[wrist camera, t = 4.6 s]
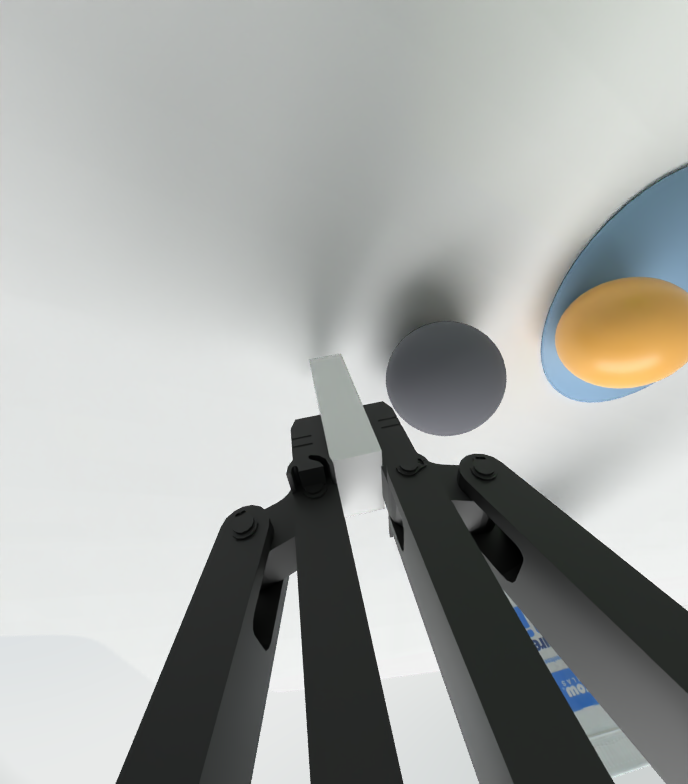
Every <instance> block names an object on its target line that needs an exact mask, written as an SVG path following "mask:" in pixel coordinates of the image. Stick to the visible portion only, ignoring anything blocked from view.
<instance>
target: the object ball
mask: <svg viewBox="0 0 688 784" xmlns="http://www.w3.org/2000/svg"><path fill="white" fill-rule="evenodd" d="M555 346H556V351H557V354H558V356H559V359H560V360H561V362H562V363H563V365H564V366H565V367H566V368H567V369H568V370H569V371H570V372H571V373H572V374H573V375H575V376H576V377H578V378H580V379H581V380H583V381H585V382H588V383H590V384H593V385H597V386H601V387H606V388H634V387H639V386H644V385H648V384H651V383H654V382H657V381H659V380H661V379H663V378H666V377H667V376H669V375H671V374H673V373H674V372H676V371H677V370H678V369H680V368H681V367H682V366H683V365H685V364H686V363H687V362H688V293H687V292H686V291H685V290H683V289H682V288H680V287H678V286H677V285H675V284H673V283H670V282H667V281H665V280H661V279H656V278H651V277H627V278H621V279H615V280H612V281H608V282H605V283H602V284H600V285H598V286H596V287H594V288H592V289H590V290H588V291H586V292H585V293H583V294H582V295H580V296H579V297H578V298H577V299H576V300H574V301H573V302H572V303H571V304H570V305H569V306H568V308H567V309H566V310H565V312H564V313H563V315H562V316H561V318H560V320H559V323H558V325H557V328H556V333H555Z"/></svg>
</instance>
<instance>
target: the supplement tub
mask: <svg viewBox="0 0 688 784" xmlns="http://www.w3.org/2000/svg"><path fill="white" fill-rule="evenodd" d="M503 591H504V590H503ZM504 592H505V591H504ZM505 594H506V596H507V598H508V599H509V601H510V603H511V605H512V606H513V608H514V610H515V612H516V613H517V615H518V617H519V618H520V620H521V622H522V624H523V625H524V627H525V629H526V631H527V632H528V634H529V636H530V638H531V639H532V641H533V643H534V645H535V646H536V648H537V650H538V651H539V653H540V655H541V657H542V658H543V660H544V662H545V664H546V665H547V667H548V669H549V671H550V672H551V674H552V676H553V677H554V679H555V681H556V683H557V684H558V686H559V688H560V690H561V691H562V693H563V695H564V697H565V698H566V700H567V702H568V703H569V705H570V707H571V709H572V710H573V712H574V714H575V716H576V717H577V719H578V721H579V723H580V724H581V726H582V728H583V729H584V731H585V733H586V735H587V736H588V738H589V740H590V742H591V743H592V745H593V747H594V749H595V750H596V752H597V754H598V756H599V757H600V759H601V761H602V762H603V764H604V766H605V768H606V769H607V771H608V773H609V775H610V776H611V778H613V777H617V776H620V775H622V774H626V773H629V772H632V771H635V770H638V769H641V768H644V767H646V766H650V764H649V763H648V761H647V760H646V759H645V758H644V757H643V755H642V754H641V753H640V752H639V751H638V750H637V748H636V747H635V746H634V745H633V744H632V742H631V741H630V740H629V739H628V738H627V736H626V735H625V734H624V733H623V732H622V730H621V729H620V728H619V727H618V726H617V724H616V723H615V722H614V721H613V720H612V719H611V717H610V716H609V715H608V714H607V713H606V711H605V710H604V709H603V708H602V707H601V705H600V704H599V703H598V702H597V701H596V699H595V698H594V697H593V696H592V695H591V694H590V692H589V691H588V690H587V689H586V688H585V686H584V685H583V684H582V683H581V682H580V680H579V679H578V678H577V677H576V676H575V674H574V673H573V672H572V671H571V670H570V668H569V667H568V666H567V665H566V664H565V663H564V661H563V660H562V659H561V658H560V657H559V655H558V654H557V653H556V652H555V651H554V649H553V648H552V647H551V646H550V645H549V643H548V642H547V641H546V640H545V639H544V638H543V636H542V635H541V634H540V633H539V632H538V630H537V629H536V628H535V627H534V626H533V624H532V623H531V622H530V621H529V620H528V618H527V617H526V616H525V615H524V614H523V612H522V611H521V610H520V609H519V608H518V607H517V605H516V604H515V603H514V602H513V601H512V599H511V598H510V597H509V596H508V595H507V593H506V592H505Z"/></svg>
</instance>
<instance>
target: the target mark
mask: <svg viewBox="0 0 688 784" xmlns="http://www.w3.org/2000/svg"><path fill="white" fill-rule="evenodd" d="M627 277H651V278H656V279H661V280H665V281H667V282H670V283H673V284H675V285H677V286H678V287H680V288H682V289H683V290H685V291H686V292H687V293H688V167H685V168H683V169H681V170H679V171H677V172H675V173H673V174H671V175H669V176H667V177H665V178H663V179H662V180H660V181H659V182H657V183H656V184H654V185H653V186H651V187H649V188H648V189H646V190H645V191H643V192H642V193H641V194H640V195H638V196H637V197H636V198H635V199H633V200H632V201H631V202H629V203H628V204H627V205H626V206H625V207H624V208H622V209H621V210H620V211H619V212H618V213H617V214H616V215H615V216H614V217H613V218H612V219H611V220H610V221H609V222H608V223H607V224H606V225H605V226H604V227H603V228H602V229H601V230H600V231H599V232H598V233H597V235H596V236H595V237H594V238H593V239H592V240H591V242H590V243H589V244H588V245H587V247H586V248H585V249H584V250H583V252H582V253H581V254H580V256H579V257H578V258H577V260H576V261H575V263H574V264H573V266H572V267H571V269H570V270H569V272H568V273H567V275H566V277H565V279H564V281H563V282H562V284H561V286H560V288H559V290H558V292H557V294H556V296H555V298H554V301H553V303H552V305H551V307H550V310H549V313H548V316H547V319H546V322H545V327H544V331H543V336H542V346H541V357H542V365H543V369H544V373H545V375H546V377H547V379H548V381H549V382H550V384H551V385H552V386H553V388H554V389H556V390H557V391H558V392H559V393H561V394H562V395H564V396H566V397H568V398H570V399H572V400H576V401H580V402H603V401H609V400H614V399H617V398H621V397H624V396H627V395H629V394H632V393H635V392H637V391H639V390H641V389H643V388H646V387H648V386H649V385H651V384H653V383H651V384H648V385H644V386H639V387H634V388H606V387H601V386H597V385H593V384H590V383H588V382H585V381H583V380H581V379H580V378H578V377H576V376H575V375H573V374H572V373H571V372H570V371H569V370H568V369H567V368H566V367H565V366H564V365H563V363H562V362H561V360H560V359H559V356H558V354H557V351H556V346H555V333H556V328H557V325H558V323H559V320H560V318H561V316H562V315H563V313H564V312H565V310H566V309H567V308H568V306H569V305H570V304H571V303H572V302H573V301H574V300H576V299H577V298H578V297H579V296H580V295H582V294H583V293H585V292H586V291H588V290H590V289H592V288H594V287H596V286H598V285H600V284H602V283H605V282H608V281H612V280H615V279H621V278H627ZM654 383H655V382H654Z"/></svg>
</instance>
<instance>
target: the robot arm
mask: <svg viewBox="0 0 688 784" xmlns="http://www.w3.org/2000/svg"><path fill="white" fill-rule="evenodd" d="M309 361H310V366H311V371H312V377H313V382H314V387H315V393H316V398H317V403H318V408H319V413H320V415H317V416H312V417H307V418H302V419H297V420H295V422H294V424H293V426H292V428H291V439H292V455H293V461H292V462H291V463H290V465H289V466H288V469H287V474H286V475H287V478H288V481H289V484H290V488H291V490H290V492H289V493H288V495H287V496H286V497H285V498H283V499H282V500H281V501H279V502H278V503H276V504H274V505H272V506H270V507H268V508H266V509H263V508H262V507H260V506H255V505H250V506H245V507H242V508H240V509H238V510H236V511H234V512H233V513H232V514H231V515H230V516H228V517H227V518H226V520H225V521H224V523H223V525H222V526H221V528H220V531H219V533H218V536H217V538H216V540H215V543H214V545H213V548H212V550H211V553H210V555H209V558H208V560H207V562H206V565H205V567H204V570H203V572H202V575H201V577H200V579H199V582H198V584H197V587H196V589H195V592H194V594H193V597H192V599H191V601H190V604H189V606H188V609H187V611H186V614H185V616H184V618H183V621H182V623H181V626H180V628H179V631H178V633H177V636H176V638H175V640H174V643H173V645H172V648H171V650H170V653H169V655H168V657H167V660H166V662H165V665H164V667H163V670H162V672H161V675H160V677H159V679H158V682H157V684H156V687H155V689H154V692H153V694H152V696H151V699H150V701H149V704H148V707H147V709H146V711H145V713H144V716H143V719H142V721H141V723H140V726H139V729H138V731H137V733H136V736H135V738H134V740H133V743H132V745H131V748H130V750H129V752H128V755H127V757H126V760H125V762H124V765H123V767H122V770H121V772H120V774H119V777H118V779H117V782H116V784H251V780H252V774H253V769H254V763H255V758H256V753H257V747H258V741H259V736H260V731H261V726H262V720H263V715H264V709H265V704H266V698H267V692H268V688H269V682H270V677H271V671H272V666H273V661H274V655H275V650H276V644H277V639H278V634H279V628H280V623H281V617H282V612H283V607H284V601H285V596H286V590H287V585H288V580H289V575H291V574H292V573H294V572H295V571H297V575H298V591H299V607H300V623H301V639H302V655H303V670H304V686H305V702H306V718H307V733H308V748H309V764H310V781H311V784H403V780H402V775H401V771H400V766H399V762H398V757H397V753H396V748H395V743H394V739H393V735H392V730H391V725H390V721H389V716H388V712H387V707H386V703H385V698H384V694H383V689H382V685H381V680H380V676H379V671H378V666H377V662H376V657H375V653H374V648H373V644H372V639H371V635H370V630H369V626H368V621H367V617H366V612H365V608H364V603H363V599H362V594H361V590H360V585H359V580H358V576H357V571H356V567H355V562H354V558H353V553H352V549H351V544H350V540H349V535H348V531H347V526H346V522H345V518H347V517H351V516H356V515H360V514H364V513H368V512H373V511H377V510H381V509H385V507H384V501H385V504H386V507H387V510H388V514H389V534H390V537H393V536H394V539H395V541H396V544H397V547H398V550H399V553H400V556H401V559H402V562H403V565H404V567H405V570H406V573H407V576H408V579H409V582H410V585H411V588H412V591H413V593H414V596H415V599H416V602H417V605H418V608H419V611H420V614H421V617H422V619H423V622H424V625H425V628H426V631H427V634H428V637H429V640H430V642H431V645H432V648H433V651H434V654H435V657H436V660H437V663H438V666H439V668H440V671H441V674H442V677H443V680H444V683H445V686H446V689H447V692H448V694H449V697H450V700H451V703H452V706H453V709H454V712H455V714H456V717H457V720H458V723H459V726H460V729H461V732H462V735H463V738H464V741H465V743H466V746H467V749H468V752H469V755H470V758H471V761H472V764H473V767H474V769H475V772H476V775H477V778H478V781H479V784H615V783H614V782H613V780H612V778H611V776H610V775H609V773H608V771H607V769H606V768H605V766H604V764H603V762H602V761H601V759H600V757H599V756H598V754H597V752H596V750H595V749H594V747H593V745H592V743H591V742H590V740H589V738H588V736H587V735H586V733H585V731H584V729H583V728H582V726H581V724H580V723H579V721H578V719H577V717H576V716H575V714H574V712H573V710H572V709H571V707H570V705H569V703H568V702H567V700H566V698H565V697H564V695H563V693H562V691H561V690H560V688H559V686H558V684H557V683H556V681H555V679H554V677H553V676H552V674H551V672H550V671H549V669H548V667H547V665H546V664H545V662H544V660H543V658H542V657H541V655H540V653H539V651H538V650H537V648H536V646H535V645H534V643H533V641H532V639H531V638H530V636H529V634H528V632H527V631H526V629H525V627H524V625H523V624H522V622H521V620H520V618H519V617H518V615H517V613H516V612H515V610H514V608H513V606H512V605H511V603H510V601H509V599H508V598H507V596H506V594H505V592H506V593H507V595H508V596H509V597H510V598H511V599H512V601H513V602H514V603H515V604H516V605H517V607H518V608H519V609H520V610H521V611H522V612H523V614H524V615H525V616H526V617H527V618H528V620H529V621H530V622H531V623H532V624H533V626H534V627H535V628H536V629H537V630H538V632H539V633H540V634H541V635H542V636H543V638H544V639H545V640H546V641H547V642H548V643H549V645H550V646H551V647H552V648H553V649H554V651H555V652H556V653H557V654H558V655H559V657H560V658H561V659H562V660H563V661H564V663H565V664H566V665H567V666H568V667H569V668H570V670H571V671H572V672H573V673H574V674H575V676H576V677H577V678H578V679H579V680H580V682H581V683H582V684H583V685H584V686H585V688H586V689H587V690H588V691H589V692H590V694H591V695H592V696H593V697H594V698H595V699H596V701H597V702H598V703H599V704H600V705H601V707H602V708H603V709H604V710H605V711H606V713H607V714H608V715H609V716H610V717H611V719H612V720H613V721H614V722H615V723H616V724H617V726H618V727H619V728H620V729H621V730H622V732H623V733H624V734H625V735H626V736H627V738H628V739H629V740H630V741H631V742H632V744H633V745H634V746H635V747H636V748H637V750H638V751H639V752H640V753H641V754H642V755H643V757H644V758H645V759H646V760H647V761H648V763H649V764H650V765H651V766H652V767H653V768H654V770H655V771H656V772H657V773H658V775H659V776H660V777H661V778H662V779H663V780H664V782H665V783H666V784H688V611H687V610H686V609H684V608H683V607H682V606H681V605H679V604H678V603H677V602H676V601H674V600H673V599H672V598H671V597H669V596H668V595H667V594H666V593H664V592H663V591H662V590H661V589H659V588H658V587H657V586H656V585H654V584H653V583H652V582H651V581H649V580H648V579H647V578H646V577H644V576H643V575H642V574H641V573H639V572H638V571H637V570H636V569H634V568H633V567H632V566H631V565H629V564H628V563H627V562H626V561H624V560H623V559H622V558H621V557H619V556H618V555H617V554H616V553H614V552H613V551H612V550H611V549H609V548H608V547H607V546H606V545H604V544H603V543H602V542H601V541H599V540H598V539H597V538H596V537H594V536H593V535H592V534H591V533H589V532H588V531H587V530H586V529H584V528H583V527H582V526H581V525H579V524H578V523H577V522H576V521H574V520H573V519H572V518H571V517H569V516H568V515H567V514H566V513H564V512H563V511H562V510H561V509H559V508H558V507H557V506H556V505H554V504H553V503H552V502H550V501H549V500H548V499H547V498H545V497H544V496H543V495H542V494H540V493H539V492H538V491H537V490H535V489H534V488H533V487H532V486H530V485H529V484H528V483H527V482H525V481H524V480H523V479H522V478H520V477H519V476H518V475H517V474H515V473H514V472H513V471H512V470H510V469H509V468H508V467H507V466H505V465H504V464H503V463H502V462H500V461H499V460H497V459H495V458H494V457H491V456H488V455H485V454H472V455H468V456H466V457H464V458H463V459H462V460H461V462H460V464H459V465H441V464H435V463H432V462H429V461H428V460H427V459H426V458H425V457H424V456H422V455H420V454H418V453H417V452H416V451H415V449H414V447H413V445H412V443H411V442H410V440H409V438H408V436H407V434H406V432H405V431H404V429H403V427H402V425H401V424H400V422H399V420H398V418H397V416H396V414H395V413H394V411H393V409H392V408H391V407H390V406H389V405H387V404H386V403H384V402H383V401H382V402H377V403H372V404H367V405H362V403H361V400H360V398H359V395H358V393H357V391H356V388H355V386H354V384H353V381H352V379H351V376H350V374H349V372H348V369H347V367H346V365H345V362H344V360H343V357H342V355H341V354H337V355H331V356H326V357H320V358H315V359H309ZM503 590H504V591H505V592H504V591H503Z"/></svg>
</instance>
